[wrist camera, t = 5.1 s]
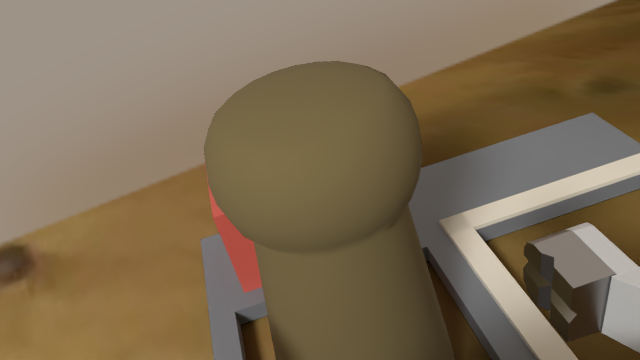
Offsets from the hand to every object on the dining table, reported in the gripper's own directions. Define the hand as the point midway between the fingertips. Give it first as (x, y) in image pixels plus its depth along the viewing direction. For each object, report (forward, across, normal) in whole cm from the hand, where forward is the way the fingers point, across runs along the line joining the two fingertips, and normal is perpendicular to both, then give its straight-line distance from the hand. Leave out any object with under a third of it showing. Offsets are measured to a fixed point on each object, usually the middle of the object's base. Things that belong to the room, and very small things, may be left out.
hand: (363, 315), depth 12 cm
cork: (+3, 0, +7) cm, 7 cm away
